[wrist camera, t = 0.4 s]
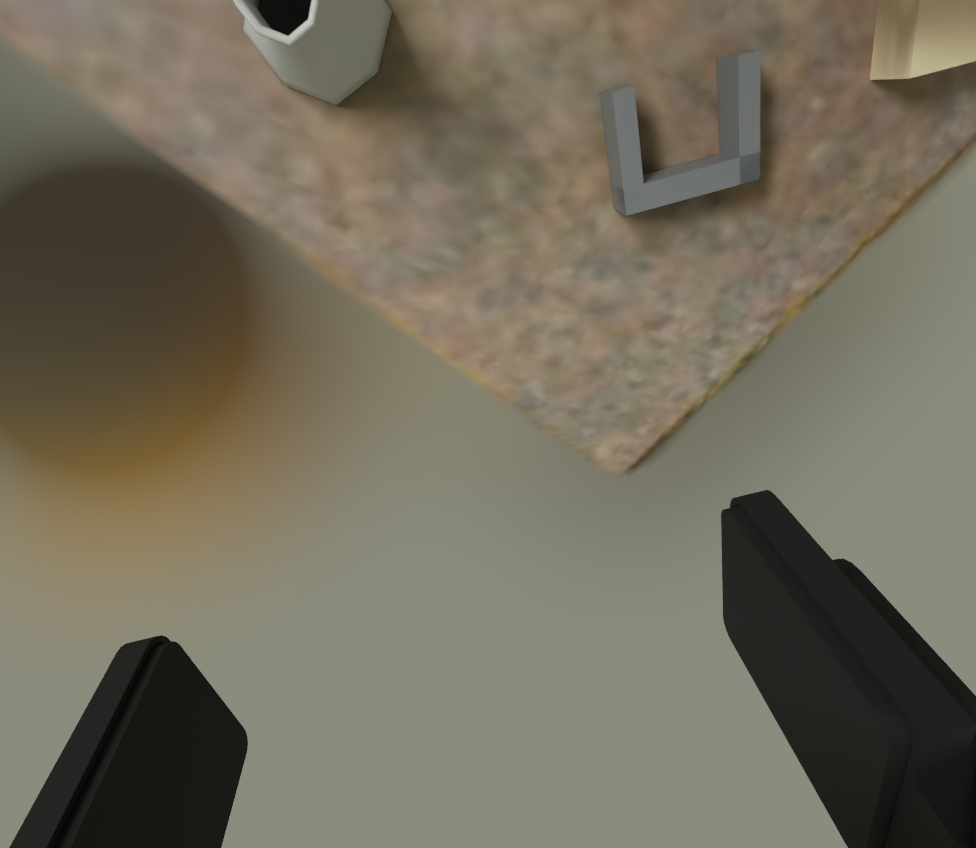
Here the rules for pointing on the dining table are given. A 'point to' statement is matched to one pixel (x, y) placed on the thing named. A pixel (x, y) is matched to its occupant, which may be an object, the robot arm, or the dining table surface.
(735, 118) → the end cap
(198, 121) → the dining table surface
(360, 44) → the flask
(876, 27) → the birch slat
